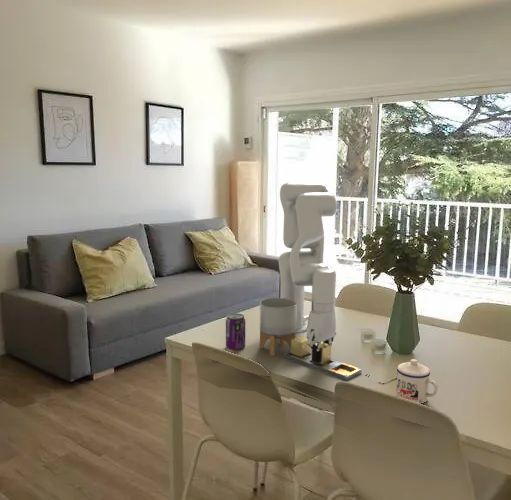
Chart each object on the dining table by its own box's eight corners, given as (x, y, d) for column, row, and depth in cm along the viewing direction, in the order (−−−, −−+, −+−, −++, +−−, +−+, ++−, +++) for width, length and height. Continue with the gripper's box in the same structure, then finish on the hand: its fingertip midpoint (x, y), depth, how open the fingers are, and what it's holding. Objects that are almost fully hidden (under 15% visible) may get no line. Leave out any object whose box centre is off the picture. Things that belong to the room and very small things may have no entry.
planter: (289, 359, 175) (291, 309, 172) (254, 354, 179) (254, 305, 176) (299, 346, 187) (300, 299, 184) (266, 342, 191) (266, 296, 188)
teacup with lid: (389, 398, 147) (391, 360, 145) (404, 388, 153) (406, 351, 151) (429, 412, 139) (432, 372, 137) (443, 401, 145) (446, 362, 143)
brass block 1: (299, 353, 179) (299, 336, 178) (309, 357, 176) (310, 339, 175) (291, 357, 176) (291, 339, 175) (301, 360, 173) (301, 342, 171)
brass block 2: (319, 359, 173) (320, 341, 172) (330, 363, 170) (331, 345, 169) (311, 363, 170) (312, 345, 168) (322, 367, 167) (322, 348, 165)
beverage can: (242, 352, 181) (243, 319, 179) (223, 350, 183) (223, 318, 181) (247, 345, 188) (247, 313, 186) (228, 343, 189) (228, 312, 187)
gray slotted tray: (298, 352, 181) (298, 347, 181) (361, 374, 163) (361, 369, 163) (283, 358, 176) (283, 353, 175) (346, 381, 158) (347, 376, 157)
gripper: (329, 299, 175) (327, 349, 178) (297, 309, 163) (295, 363, 166) (347, 303, 169) (345, 355, 173) (316, 314, 158) (314, 369, 161)
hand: (321, 358), depth 169 cm, fingers closed on brass block 2, 4 cm apart
